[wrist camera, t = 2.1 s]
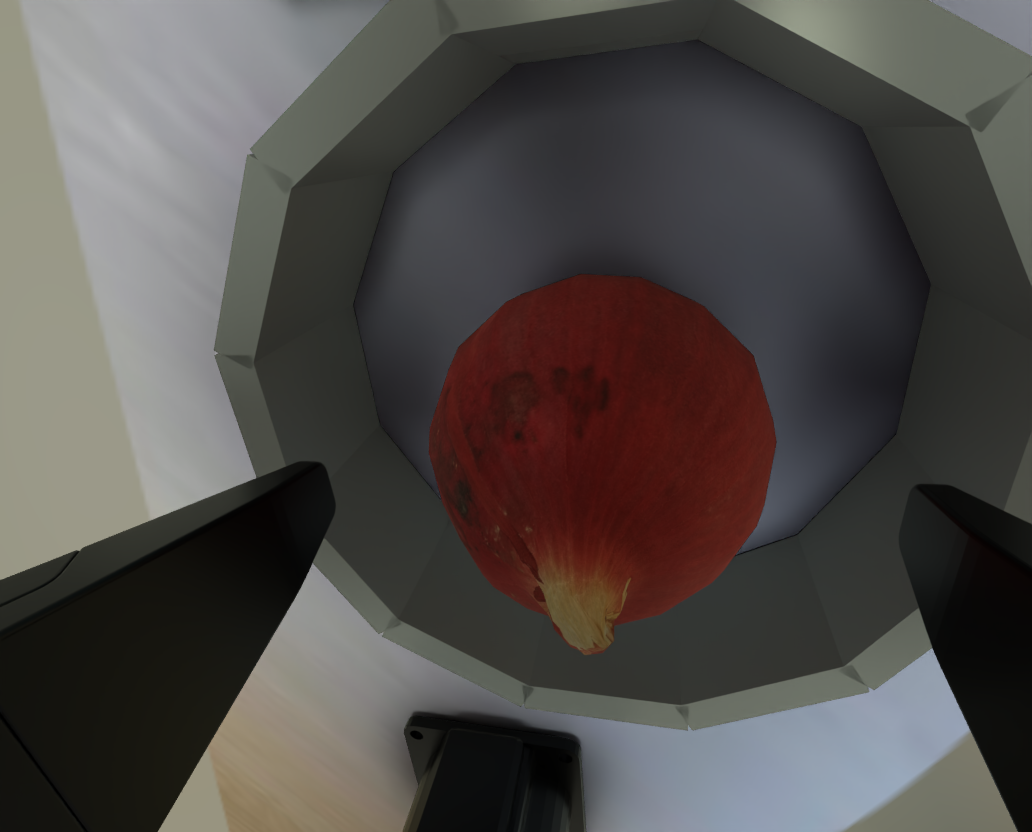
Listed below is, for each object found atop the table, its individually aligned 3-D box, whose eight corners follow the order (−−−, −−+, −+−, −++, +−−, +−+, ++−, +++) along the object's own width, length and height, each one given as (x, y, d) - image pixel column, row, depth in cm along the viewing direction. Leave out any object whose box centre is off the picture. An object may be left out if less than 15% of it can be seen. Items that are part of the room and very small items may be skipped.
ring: (888, 616, 15) (961, 768, 11) (390, 574, 18) (327, 680, 15) (1073, -75, 9) (1364, -214, 5) (262, 53, 12) (98, 22, 8)
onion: (464, 418, 15) (295, 675, 8) (536, 198, 12) (372, 297, 5) (670, 502, 15) (684, 842, 8) (793, 300, 12) (994, 547, 5)
